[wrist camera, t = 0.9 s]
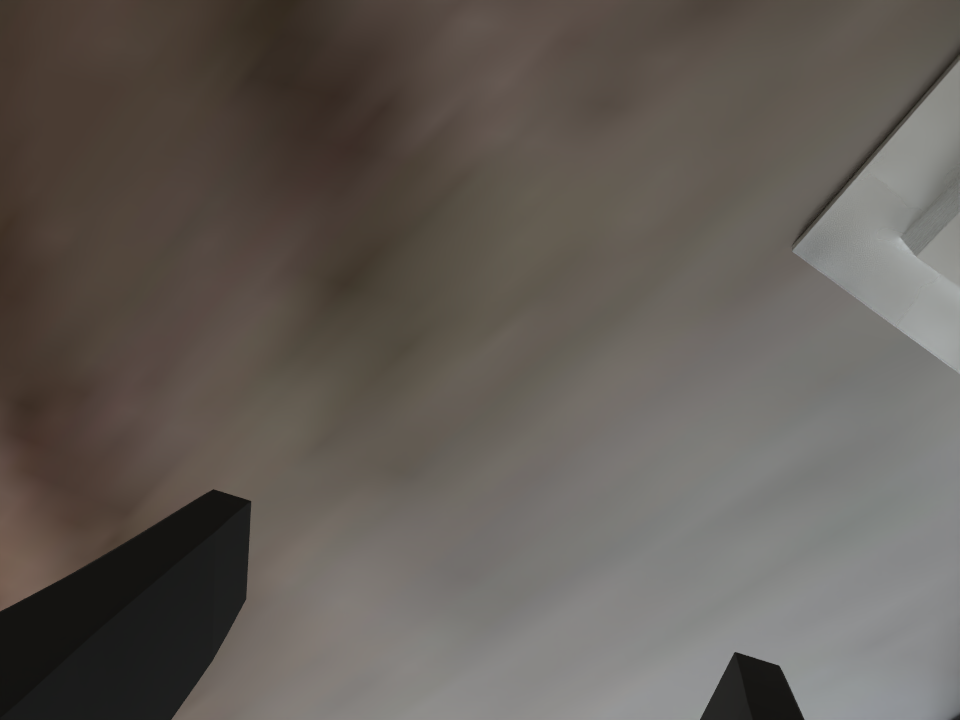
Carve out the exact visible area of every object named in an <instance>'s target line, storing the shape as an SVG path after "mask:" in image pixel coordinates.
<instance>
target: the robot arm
mask: <svg viewBox="0 0 960 720" xmlns="http://www.w3.org/2000/svg"><path fill="white" fill-rule="evenodd" d="M250 515H251V501H249V500H246V499H243V498H239V497H236V496H233V495H230V494H227V493H223V492H220V491H217V490H214V489H213V490H211V491H210V492H208V493H206V494H204V495H203V496H201V497H199V498H198V499H196V500H194V501H192V502H191V503H189V504H188V505H186V506H184V507H183V508H181V509H179V510H178V511H176V512H175V513H173V514H171V515H170V516H168V517H167V518H165V519H163V520H162V521H160V522H158V523H157V524H155V525H154V526H152V527H150V528H149V529H147V530H145V531H144V532H142V533H140V534H139V535H137V536H135V537H134V538H132V539H130V540H129V541H127V542H126V543H124V544H122V545H120V546H119V547H117V548H115V549H114V550H112V551H110V552H108V553H107V554H105V555H103V556H101V557H100V558H98V559H96V560H95V561H93V562H91V563H89V564H88V565H86V566H84V567H83V568H81V569H79V570H77V571H76V572H74V573H72V574H70V575H68V576H67V577H65V578H63V579H61V580H59V581H57V582H55V583H54V584H52V585H50V586H48V587H46V588H44V589H42V590H40V591H38V592H37V593H35V594H33V595H31V596H29V597H27V598H25V599H23V600H21V601H20V602H18V603H16V604H14V605H12V606H10V607H8V608H6V609H4V610H2V611H0V720H171V719H172V718H173V716H174V715H175V713H176V712H177V711H178V709H179V708H180V706H181V705H182V704H183V702H184V701H185V699H186V698H187V696H188V695H189V694H190V692H191V691H192V689H193V688H194V686H195V685H196V684H197V682H198V681H199V679H200V678H201V677H202V675H203V674H204V672H205V671H206V669H207V668H208V666H209V665H210V663H211V662H212V661H213V659H214V657H215V655H216V653H217V652H218V650H219V648H220V646H221V644H222V643H223V641H224V639H225V637H226V636H227V634H228V632H229V630H230V628H231V626H232V624H233V623H234V621H235V619H236V617H237V615H238V613H239V611H240V609H241V608H242V606H243V604H244V602H245V600H246V591H247V572H248V553H249V534H250ZM700 720H804V718H803V716H802V713H801V711H800V709H799V707H798V704H797V702H796V700H795V698H794V696H793V693H792V691H791V689H790V687H789V684H788V682H787V680H786V678H785V676H784V674H783V672H782V670H781V668H780V666H778V665H775V664H772V663H769V662H766V661H762V660H759V659H756V658H753V657H749V656H746V655H743V654H740V653H737V652H735V653H734V655H733V656H732V658H731V660H730V662H729V664H728V666H727V668H726V670H725V672H724V674H723V676H722V678H721V680H720V682H719V684H718V686H717V688H716V690H715V692H714V694H713V696H712V697H711V699H710V701H709V703H708V705H707V707H706V709H705V711H704V713H703V715H702V717H701V719H700Z"/></svg>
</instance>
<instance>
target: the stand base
mask: <svg viewBox="0 0 960 720" xmlns="http://www.w3.org/2000/svg"><path fill="white" fill-rule="evenodd" d="M792 252H794V253H795V254H797V255H798V256H799V257H801V258H802V259H803V260H805V261H806V262H807V263H809V264H810V265H812V266H813V267H814V268H816V269H817V270H818V271H820V272H821V273H822V274H824V275H825V276H827V277H828V278H829V279H831V280H832V281H833V282H835V283H836V284H838V285H839V286H840V287H842V288H843V289H844V290H846V291H847V292H848V293H850V294H851V295H853V296H854V297H855V298H857V299H858V300H859V301H861V302H862V303H864V304H865V305H866V306H868V307H869V308H870V309H872V310H873V311H874V312H876V313H877V314H879V315H880V316H881V317H883V318H884V319H885V320H887V321H888V322H889V323H891V324H892V325H894V326H895V327H896V328H898V329H899V330H900V331H902V332H903V333H905V334H906V335H907V336H909V337H910V338H911V339H913V340H914V341H915V342H917V343H918V344H920V345H921V346H922V347H924V348H925V349H926V350H928V351H929V352H931V353H932V354H933V355H935V356H936V357H937V358H939V359H940V360H941V361H943V362H944V363H946V364H947V365H948V366H950V367H951V368H952V369H954V370H955V371H956V372H958V373H959V374H960V54H959V56H958V57H957V58H956V59H955V60H954V61H953V62H952V64H951V65H950V66H949V67H948V68H947V69H946V70H945V72H944V73H943V74H942V75H941V76H940V77H939V78H938V80H937V81H936V82H935V83H934V84H933V85H932V86H931V88H930V89H929V90H928V91H927V92H926V93H925V94H924V96H923V97H922V98H921V99H920V100H919V101H918V102H917V104H916V105H915V106H914V107H913V108H912V109H911V110H910V112H909V113H908V114H907V115H906V116H905V117H904V118H903V120H902V121H901V122H900V123H899V124H898V125H897V126H896V128H895V129H894V130H893V131H892V132H891V133H890V135H889V136H888V137H887V138H886V139H885V140H884V141H883V143H882V144H881V145H880V146H879V147H878V148H877V149H876V151H875V152H874V153H873V154H872V155H871V156H870V157H869V159H868V160H867V161H866V162H865V163H864V164H863V165H862V167H861V168H860V169H859V170H858V171H857V172H856V173H855V175H854V176H853V177H852V178H851V179H850V180H849V181H848V183H847V184H846V185H845V186H844V187H843V188H842V189H841V191H840V192H839V193H838V194H837V195H836V196H835V197H834V199H833V200H832V201H831V202H830V203H829V204H828V205H827V207H826V208H825V209H824V210H823V211H822V212H821V213H820V215H819V216H818V217H817V218H816V219H815V220H814V221H813V223H812V224H811V225H810V226H809V227H808V228H807V230H806V231H805V232H804V233H803V234H802V235H801V236H800V238H799V239H798V240H797V241H796V242H795V243H794V244H793V246H792Z"/></svg>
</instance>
